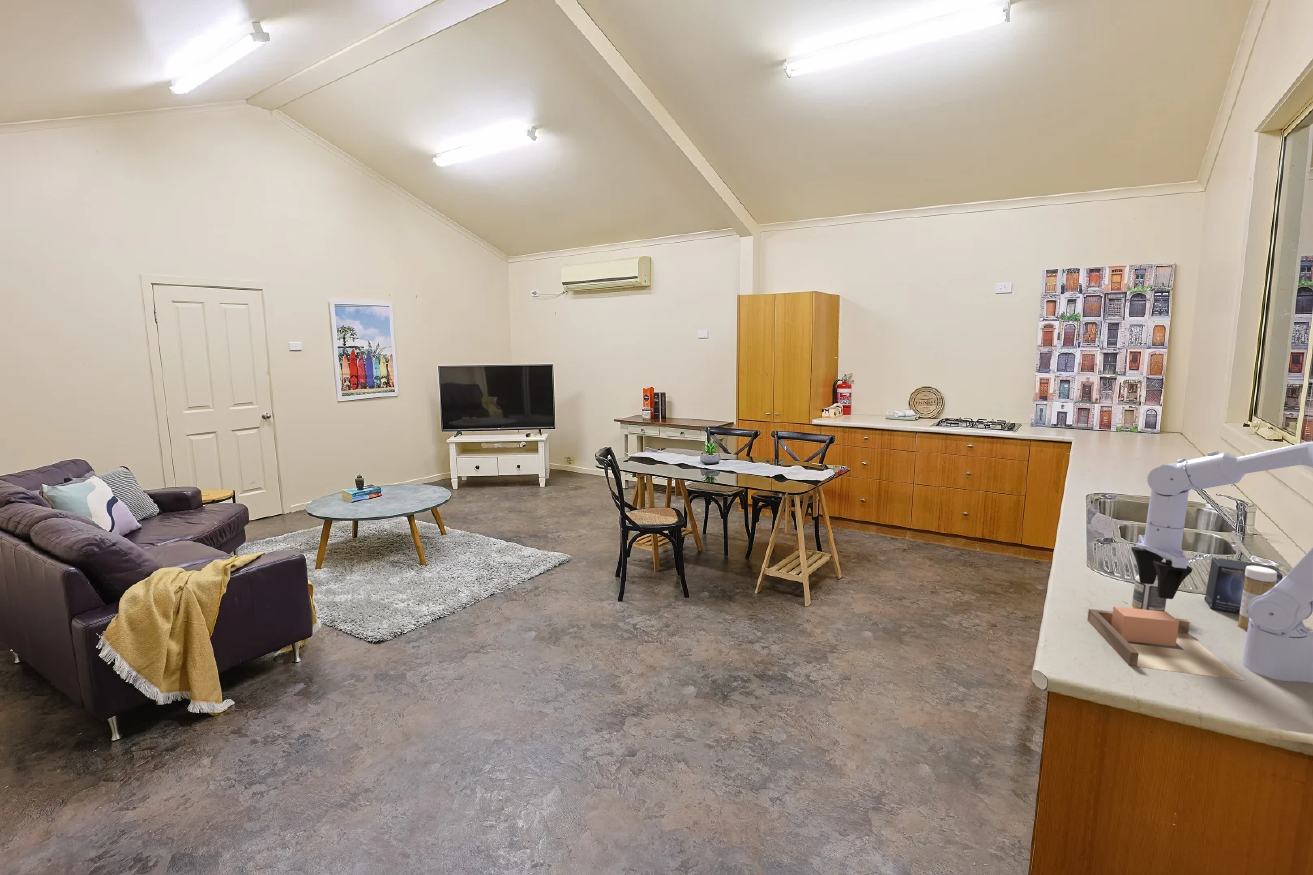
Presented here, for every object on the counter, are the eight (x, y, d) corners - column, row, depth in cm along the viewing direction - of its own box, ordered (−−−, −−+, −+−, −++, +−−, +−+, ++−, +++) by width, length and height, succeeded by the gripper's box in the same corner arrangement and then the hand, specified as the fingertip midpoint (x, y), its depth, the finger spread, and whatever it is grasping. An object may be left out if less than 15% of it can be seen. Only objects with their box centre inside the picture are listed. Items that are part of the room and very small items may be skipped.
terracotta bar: (1121, 640, 120) (1124, 615, 119) (1110, 629, 124) (1113, 606, 123) (1175, 646, 117) (1179, 621, 117) (1163, 635, 122) (1166, 611, 121)
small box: (1210, 610, 136) (1217, 564, 135) (1203, 599, 142) (1210, 556, 140) (1276, 621, 131) (1284, 574, 129) (1265, 610, 137) (1273, 565, 135)
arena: (1184, 635, 124) (1186, 619, 123) (1244, 685, 106) (1247, 666, 105) (1086, 624, 128) (1088, 608, 128) (1128, 670, 110) (1130, 652, 110)
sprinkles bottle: (1271, 634, 125) (1282, 570, 123) (1260, 638, 123) (1271, 574, 121) (1242, 624, 129) (1252, 563, 127) (1231, 628, 127) (1241, 566, 125)
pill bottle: (1165, 611, 135) (1171, 568, 134) (1162, 619, 131) (1169, 575, 130) (1132, 603, 139) (1138, 561, 138) (1129, 611, 135) (1135, 568, 134)
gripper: (1124, 513, 129) (1116, 575, 131) (1159, 533, 115) (1149, 602, 117) (1164, 515, 127) (1155, 578, 129) (1205, 536, 113) (1194, 607, 115)
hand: (1155, 590), depth 123 cm, fingers open, 7 cm apart
